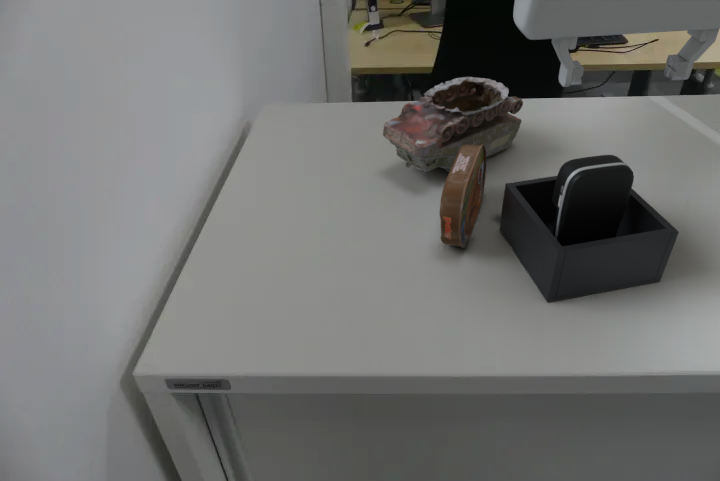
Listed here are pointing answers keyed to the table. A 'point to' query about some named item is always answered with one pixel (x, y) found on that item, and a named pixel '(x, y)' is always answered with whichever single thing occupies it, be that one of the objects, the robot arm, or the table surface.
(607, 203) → the battery charger
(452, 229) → the tin
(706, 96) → the table surface
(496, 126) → the decorative box
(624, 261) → the open box
